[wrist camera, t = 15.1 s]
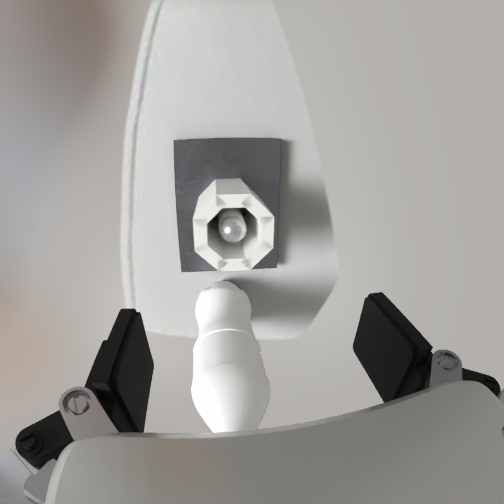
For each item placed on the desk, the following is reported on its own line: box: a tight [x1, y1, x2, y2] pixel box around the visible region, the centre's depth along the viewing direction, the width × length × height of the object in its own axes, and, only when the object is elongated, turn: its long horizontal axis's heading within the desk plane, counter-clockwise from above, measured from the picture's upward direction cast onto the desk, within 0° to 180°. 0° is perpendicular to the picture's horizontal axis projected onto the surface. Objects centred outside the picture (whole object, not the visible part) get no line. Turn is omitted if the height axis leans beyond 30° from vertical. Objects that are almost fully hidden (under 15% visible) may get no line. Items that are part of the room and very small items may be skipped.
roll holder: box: [174, 138, 281, 272], centre depth 28 cm, size 16×12×11 cm
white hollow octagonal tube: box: [193, 178, 274, 271], centre depth 28 cm, size 7×7×10 cm
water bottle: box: [191, 281, 270, 433], centre depth 27 cm, size 7×7×25 cm
